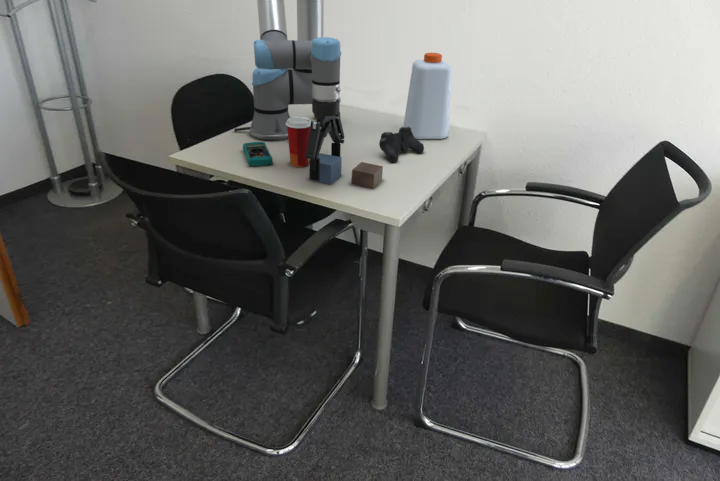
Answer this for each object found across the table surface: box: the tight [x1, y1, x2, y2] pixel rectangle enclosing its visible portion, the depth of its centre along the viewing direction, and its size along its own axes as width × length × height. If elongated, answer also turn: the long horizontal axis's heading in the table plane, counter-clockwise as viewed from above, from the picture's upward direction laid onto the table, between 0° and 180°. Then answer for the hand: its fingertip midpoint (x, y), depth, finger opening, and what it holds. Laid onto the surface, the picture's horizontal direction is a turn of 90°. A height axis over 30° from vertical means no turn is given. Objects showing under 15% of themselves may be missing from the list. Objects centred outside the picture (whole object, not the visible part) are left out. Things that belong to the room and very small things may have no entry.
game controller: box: [378, 126, 425, 163], centre depth 172 cm, size 16×7×10 cm, turn 134°
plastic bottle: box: [402, 52, 453, 140], centre depth 186 cm, size 15×15×28 cm
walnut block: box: [351, 161, 384, 190], centre depth 152 cm, size 7×7×4 cm
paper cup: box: [285, 116, 311, 168], centre depth 160 cm, size 8×8×14 cm
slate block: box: [308, 152, 342, 186], centre depth 153 cm, size 7×7×6 cm
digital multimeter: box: [242, 141, 274, 167], centre depth 166 cm, size 7×15×3 cm, turn 19°
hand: (325, 171), depth 153 cm, fingers open, 13 cm apart
